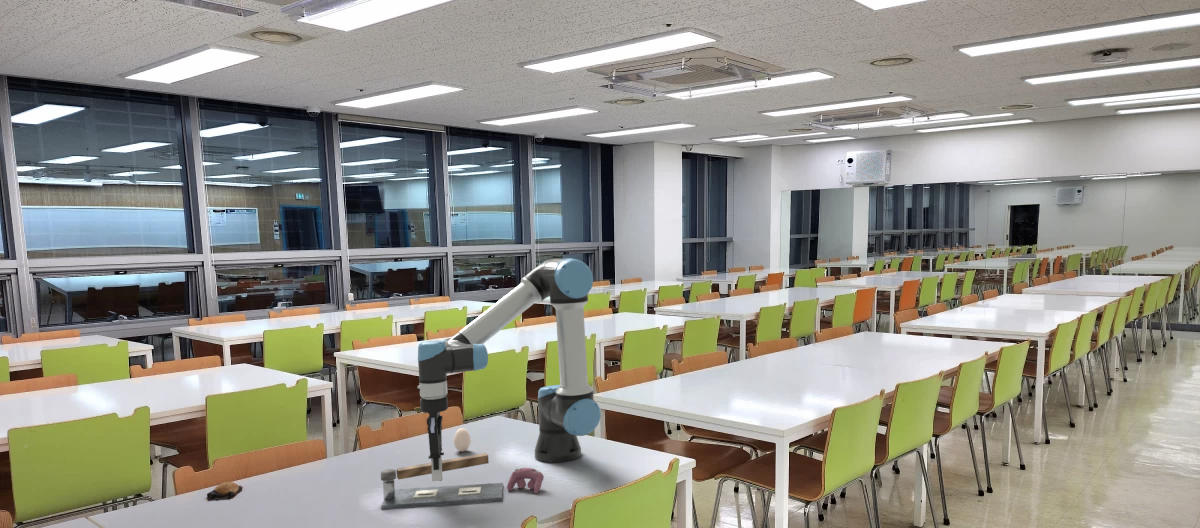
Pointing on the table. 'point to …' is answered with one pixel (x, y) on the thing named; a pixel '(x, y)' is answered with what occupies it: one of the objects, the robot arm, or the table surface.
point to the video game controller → (526, 473)
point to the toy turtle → (224, 491)
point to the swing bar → (427, 468)
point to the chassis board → (440, 495)
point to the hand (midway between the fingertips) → (437, 480)
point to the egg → (462, 440)
